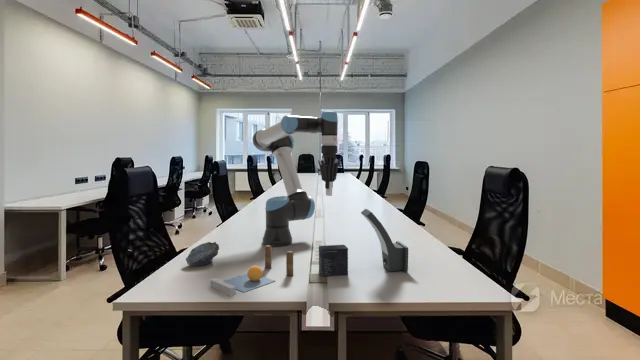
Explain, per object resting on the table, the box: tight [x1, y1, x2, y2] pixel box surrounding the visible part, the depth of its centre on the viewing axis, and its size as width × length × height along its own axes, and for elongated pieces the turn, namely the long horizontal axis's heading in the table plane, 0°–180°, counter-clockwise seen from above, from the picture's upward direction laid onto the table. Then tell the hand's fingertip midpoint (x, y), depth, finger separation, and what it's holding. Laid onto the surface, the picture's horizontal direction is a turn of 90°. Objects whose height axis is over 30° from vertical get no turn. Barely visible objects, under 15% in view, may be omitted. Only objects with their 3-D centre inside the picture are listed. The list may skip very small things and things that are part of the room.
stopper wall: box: [209, 277, 237, 297], centre depth 123 cm, size 12×2×2 cm, turn 49°
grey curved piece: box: [360, 208, 409, 273], centre depth 145 cm, size 11×17×24 cm, turn 100°
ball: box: [246, 265, 263, 281], centre depth 132 cm, size 6×6×6 cm
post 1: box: [264, 245, 272, 270], centre depth 146 cm, size 3×3×9 cm
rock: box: [185, 241, 220, 267], centre depth 152 cm, size 16×8×10 cm
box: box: [318, 244, 349, 277], centre depth 140 cm, size 11×7×10 cm, turn 100°
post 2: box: [285, 250, 294, 277], centre depth 138 cm, size 3×3×9 cm
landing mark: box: [222, 273, 276, 293], centre depth 131 cm, size 14×14×1 cm
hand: (328, 195), depth 170 cm, fingers closed
